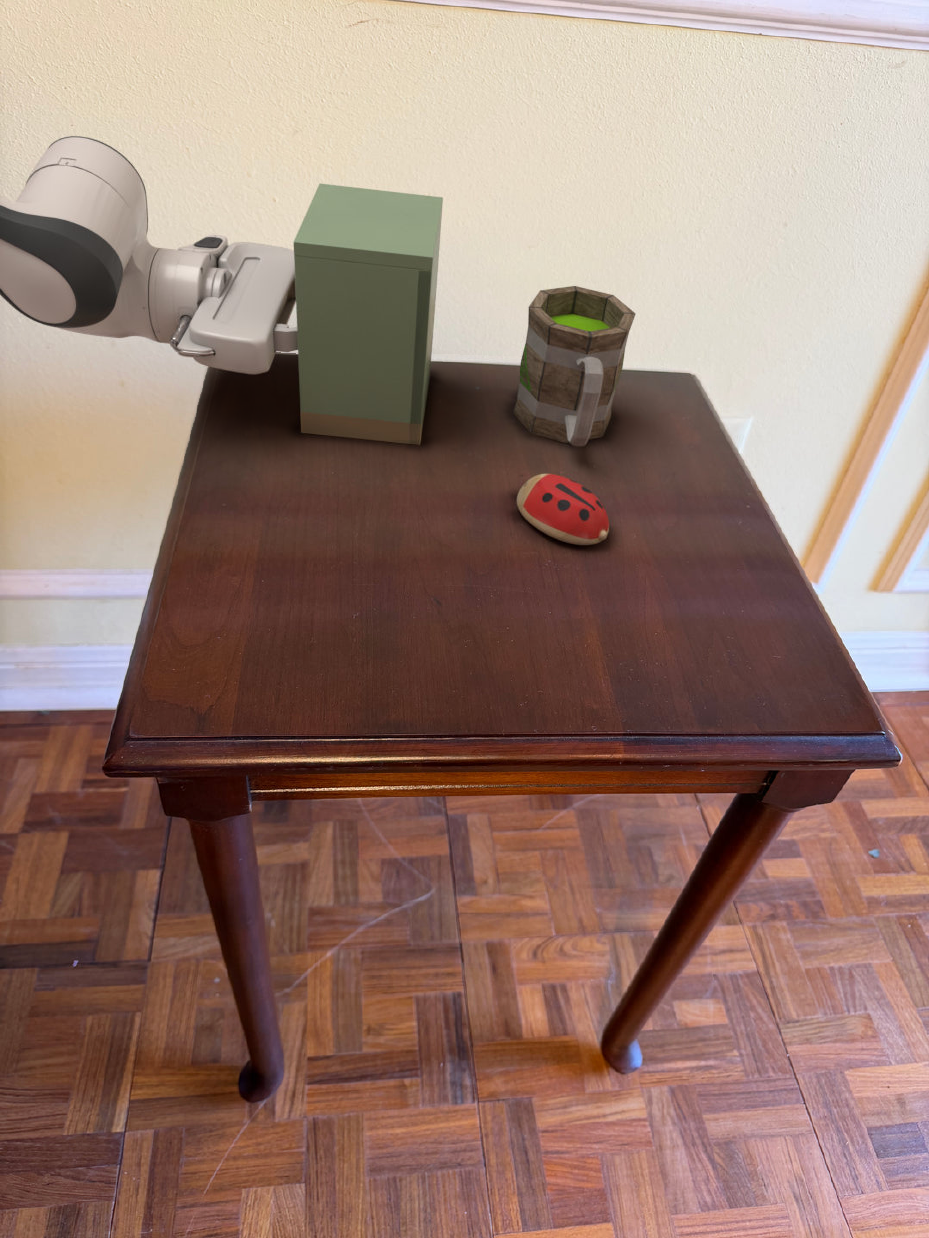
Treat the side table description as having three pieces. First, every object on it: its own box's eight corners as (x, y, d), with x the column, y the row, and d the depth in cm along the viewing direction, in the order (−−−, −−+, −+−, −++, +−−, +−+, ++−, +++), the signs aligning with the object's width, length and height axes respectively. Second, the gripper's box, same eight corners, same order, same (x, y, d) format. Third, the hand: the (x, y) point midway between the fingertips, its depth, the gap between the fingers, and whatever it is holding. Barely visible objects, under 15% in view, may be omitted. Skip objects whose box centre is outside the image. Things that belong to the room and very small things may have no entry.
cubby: (301, 432, 90) (293, 241, 76) (323, 363, 100) (319, 183, 86) (420, 445, 90) (433, 257, 77) (430, 374, 100) (443, 197, 87)
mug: (508, 386, 100) (523, 282, 92) (602, 391, 101) (625, 289, 93) (522, 469, 89) (540, 360, 81) (628, 474, 90) (657, 366, 82)
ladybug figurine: (541, 483, 88) (547, 453, 85) (625, 530, 84) (633, 500, 81) (498, 512, 84) (503, 481, 81) (583, 563, 80) (591, 532, 77)
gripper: (157, 318, 78) (316, 335, 79) (215, 227, 93) (348, 242, 93) (168, 382, 83) (317, 398, 83) (220, 286, 97) (348, 300, 98)
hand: (334, 315), depth 88 cm, fingers open, 8 cm apart
